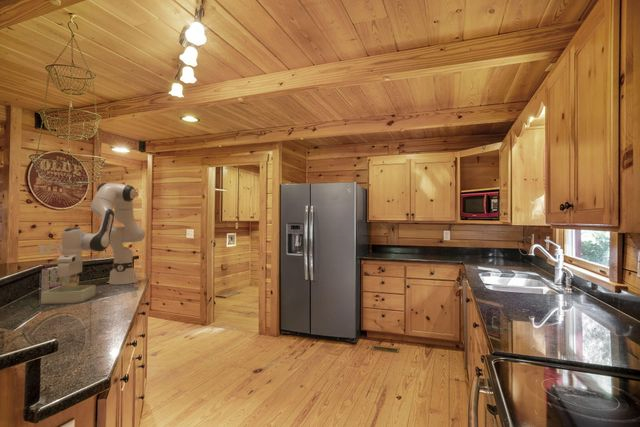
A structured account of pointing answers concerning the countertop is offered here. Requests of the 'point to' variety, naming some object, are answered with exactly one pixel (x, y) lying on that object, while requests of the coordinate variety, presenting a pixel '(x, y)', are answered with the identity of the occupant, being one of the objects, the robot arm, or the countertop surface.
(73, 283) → the ash block
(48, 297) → the box
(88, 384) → the countertop surface
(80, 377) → the countertop surface
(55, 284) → the candy bar box
